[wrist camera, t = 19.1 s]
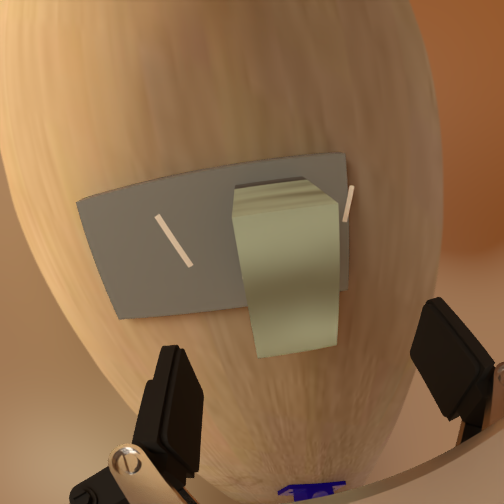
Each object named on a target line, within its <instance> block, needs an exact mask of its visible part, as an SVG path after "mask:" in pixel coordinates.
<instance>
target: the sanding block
mask: <svg viewBox="0 0 504 504" xmlns="http://www.w3.org/2000/svg"><path fill="white" fill-rule="evenodd" d="M232 222H233V227H234V233H235V239H236V244H237V250H238V255H239V261H240V267H241V272H242V278H243V283H244V288H245V294H246V299H247V305H248V310H249V315H250V321H251V326H252V331H253V336H254V342H255V347H256V352H257V357H258V358H265V357H272V356H279V355H285V354H292V353H298V352H304V351H309V350H315V349H320V348H325V347H330V346H335V345H337V333H338V314H339V281H340V241H339V208H338V203H337V202H336V201H335V200H334V199H332V198H331V197H330V196H328V195H327V194H326V193H324V192H323V191H322V190H320V189H319V188H318V187H317V186H315V185H314V184H313V183H311V182H310V181H308V180H307V179H306V178H304V177H303V176H300V177H291V178H283V179H275V180H267V181H260V182H253V183H246V184H240V185H235V190H234V200H233V210H232Z"/></svg>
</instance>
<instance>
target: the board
mask: <svg viewBox="0 0 504 504" xmlns="http://www.w3.org/2000/svg"><path fill="white" fill-rule="evenodd" d="M300 176H303V177H304V178H306V179H307V180H308V181H310V182H311V183H313V184H314V185H315V186H317V187H318V188H319V189H320V190H322V191H323V192H324V193H326V194H327V195H328V196H330V197H331V198H332V199H334V200H335V201H336V202H337V203H338V208H339V241H340V281H339V292H340V291H345V290H348V280H349V210H350V205H351V201H352V196H353V191H354V186H352V185H350V186H349V191H348V185H347V168H346V155H345V153H341V152H331V153H319V154H308V155H298V156H288V157H280V158H271V159H264V160H256V161H249V162H243V163H236V164H230V165H224V166H218V167H212V168H207V169H201V170H196V171H191V172H186V173H181V174H176V175H171V176H167V177H162V178H158V179H153V180H149V181H145V182H141V183H137V184H133V185H129V186H125V187H121V188H117V189H114V190H110V191H106V192H103V193H99V194H96V195H92V196H89V197H86V198H83V199H81V200H79V201H78V202H76V204H77V208H78V212H79V215H80V218H81V222H82V225H83V228H84V231H85V235H86V238H87V241H88V244H89V247H90V249H91V252H92V255H93V258H94V261H95V263H96V266H97V269H98V271H99V274H100V276H101V279H102V281H103V284H104V286H105V289H106V291H107V294H108V296H109V298H110V301H111V303H112V305H113V307H114V310H115V312H116V314H117V316H118V318H119V320H120V319H134V318H146V317H158V316H169V315H179V314H189V313H198V312H207V311H215V310H223V309H231V308H239V307H246V306H248V305H247V299H246V294H245V288H244V283H243V278H242V272H241V267H240V261H239V255H238V250H237V244H236V239H235V233H234V227H233V222H232V210H233V200H234V190H235V185H240V184H246V183H253V182H260V181H267V180H275V179H283V178H291V177H300Z"/></svg>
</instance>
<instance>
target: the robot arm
mask: <svg viewBox="0 0 504 504" xmlns="http://www.w3.org/2000/svg"><path fill="white" fill-rule="evenodd" d="M410 356H411V359H412V361H413V362H414V364H415V366H416V367H417V369H418V371H419V372H420V374H421V376H422V378H423V379H424V381H425V383H426V385H427V387H428V388H429V390H430V392H431V394H432V396H433V397H434V399H435V401H436V403H437V405H438V407H439V409H440V411H441V413H442V414H443V416H445V417H447V418H448V420H449V421H451V420H453V419H455V418H457V417H459V415H460V417H461V419H462V421H461V426H460V430H459V434H458V438H457V442H456V446H455V447H454V448H453V449H451V450H449V451H447V452H445V453H443V454H441V455H439V456H437V457H435V458H433V459H431V460H429V461H427V462H425V463H423V464H421V465H418V466H416V467H414V468H412V469H409V470H407V471H404V472H402V473H399V474H397V475H394V476H391V477H389V478H386V479H383V480H381V481H378V482H375V483H372V484H368V485H365V486H362V487H359V488H355V489H352V490H348V491H344V492H340V493H336V494H332V495H328V496H323V497H318V498H313V499H308V500H302V501H296V502H289V503H282V504H504V362H501V363H499V364H498V365H497V366H496V368H495V367H494V364H495V362H494V361H493V359H492V358H491V357H490V355H489V354H488V353H487V351H486V350H485V349H484V347H483V346H482V345H481V344H480V342H479V341H478V340H477V339H476V337H475V336H474V335H473V334H472V332H470V330H469V329H468V328H467V327H466V326H465V324H464V323H463V322H462V321H461V320H460V318H459V317H458V316H457V315H456V314H455V313H454V311H453V310H452V309H451V308H450V307H449V306H448V305H447V304H446V303H445V301H444V300H443V299H442V298H440V297H437V298H434V299H430V300H427V301H426V304H425V305H424V306H423V309H422V312H421V316H420V320H419V323H418V327H417V330H416V334H415V337H414V340H413V344H412V347H411V350H410ZM203 401H204V395H203V390H202V388H201V386H200V384H199V382H198V379H197V377H196V375H195V373H194V371H193V368H192V366H191V364H190V362H189V359H188V357H187V355H186V352H185V350H184V349H180V348H179V346H178V345H171V346H162V348H161V351H160V355H159V358H158V362H157V366H156V370H155V374H154V378H153V380H149V381H148V382H147V383H146V386H145V390H144V394H143V398H142V401H141V406H140V410H139V414H138V418H137V422H136V427H135V431H134V435H133V440H132V444H122V445H119V446H117V447H116V448H115V449H113V450H112V452H111V453H110V455H109V458H108V467H106V468H104V469H103V470H101V471H99V472H98V473H96V474H95V475H93V476H91V477H90V478H88V479H87V480H84V481H83V482H81V483H79V484H78V485H76V486H75V487H74V488H73V489H72V490H71V492H70V496H69V500H70V503H69V504H199V503H198V502H197V500H196V499H195V498H194V497H193V496H192V495H191V494H190V493H189V492H188V490H187V489H186V488H185V487H184V486H185V485H186V478H194V473H195V472H198V471H199V462H200V444H201V429H202V414H203Z"/></svg>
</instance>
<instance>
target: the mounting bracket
mask: <svg viewBox="0 0 504 504" xmlns="http://www.w3.org/2000/svg"><path fill="white" fill-rule="evenodd" d="M344 485H346V482H345V481H340V482H330V483H319V484H300V485H288V486H287V487H285V488H283V489H281V490H279V491H278V495H294V502H296V501H302V500H308V499H313V498H318V497H323V496H328V495H332V494H334V491H335V490H337V489H339V488H341V487H343V486H344Z"/></svg>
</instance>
